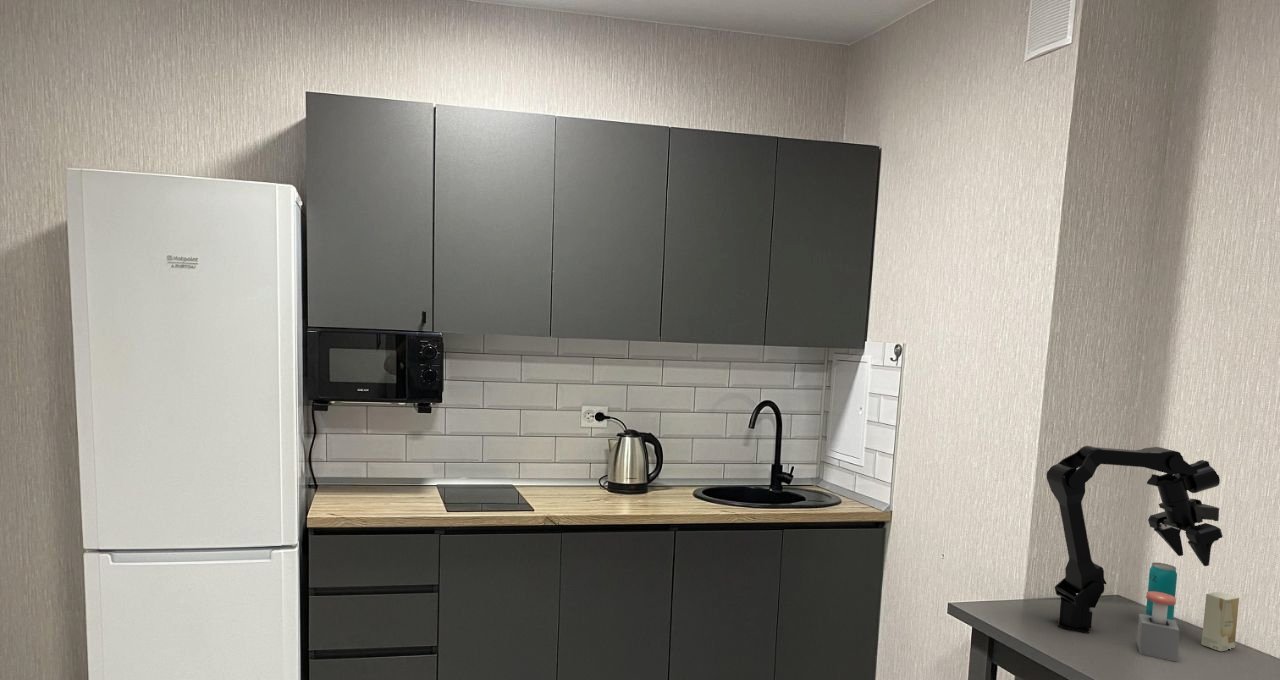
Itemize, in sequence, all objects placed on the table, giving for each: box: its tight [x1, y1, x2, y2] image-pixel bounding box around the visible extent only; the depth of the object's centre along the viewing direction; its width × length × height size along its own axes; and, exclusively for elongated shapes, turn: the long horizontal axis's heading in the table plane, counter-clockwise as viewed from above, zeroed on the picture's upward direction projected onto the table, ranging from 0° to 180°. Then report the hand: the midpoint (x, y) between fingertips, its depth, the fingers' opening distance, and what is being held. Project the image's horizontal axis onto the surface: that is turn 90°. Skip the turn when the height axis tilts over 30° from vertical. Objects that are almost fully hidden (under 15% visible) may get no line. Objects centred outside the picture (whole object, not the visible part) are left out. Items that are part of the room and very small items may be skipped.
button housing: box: [1136, 613, 1180, 663], centre depth 181 cm, size 7×7×7 cm
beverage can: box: [1145, 562, 1178, 620], centre depth 199 cm, size 6×6×15 cm
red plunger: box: [1145, 590, 1177, 625], centre depth 181 cm, size 6×6×8 cm
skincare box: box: [1200, 591, 1240, 652], centre depth 187 cm, size 6×4×12 cm
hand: (1193, 560), depth 194 cm, fingers open, 9 cm apart
